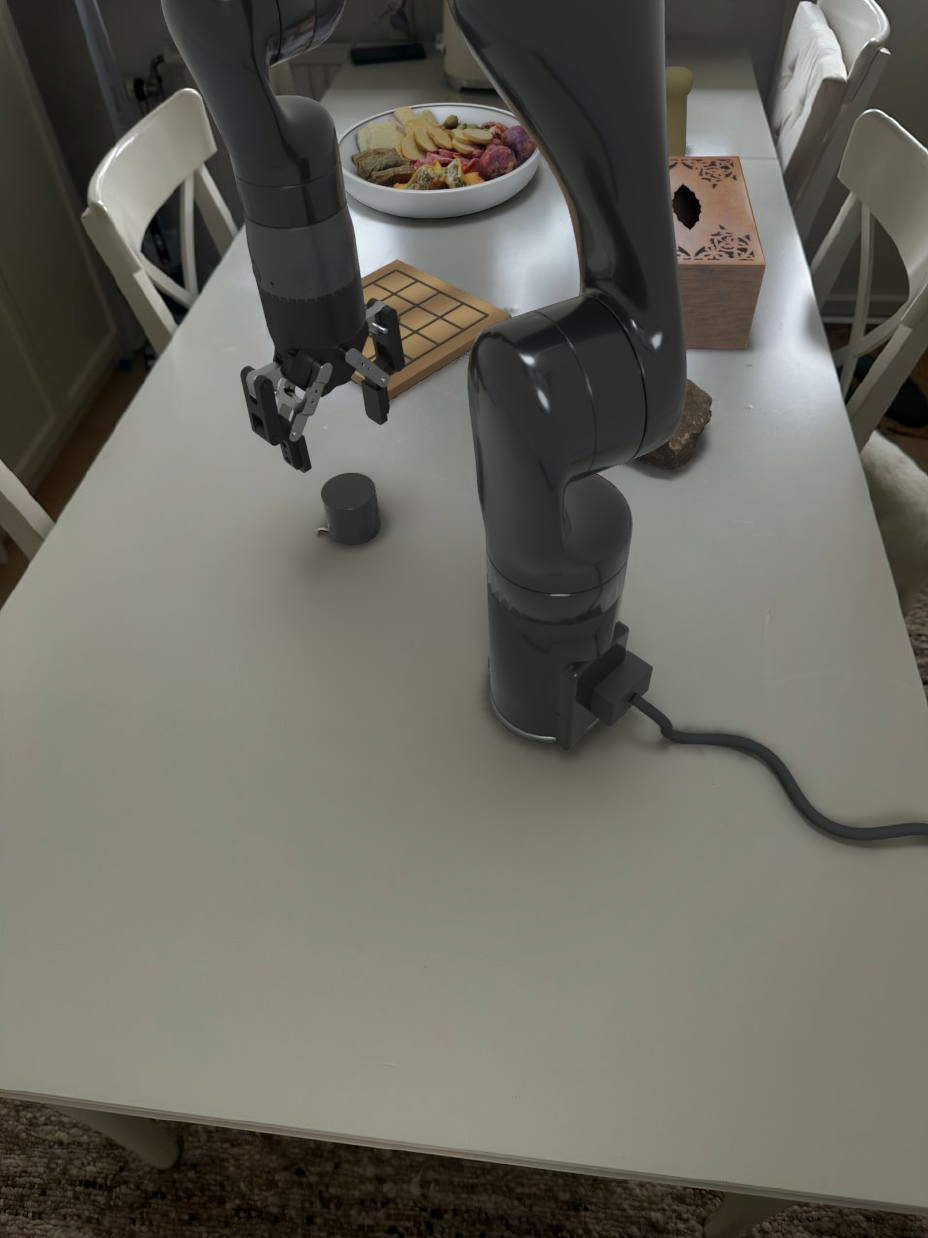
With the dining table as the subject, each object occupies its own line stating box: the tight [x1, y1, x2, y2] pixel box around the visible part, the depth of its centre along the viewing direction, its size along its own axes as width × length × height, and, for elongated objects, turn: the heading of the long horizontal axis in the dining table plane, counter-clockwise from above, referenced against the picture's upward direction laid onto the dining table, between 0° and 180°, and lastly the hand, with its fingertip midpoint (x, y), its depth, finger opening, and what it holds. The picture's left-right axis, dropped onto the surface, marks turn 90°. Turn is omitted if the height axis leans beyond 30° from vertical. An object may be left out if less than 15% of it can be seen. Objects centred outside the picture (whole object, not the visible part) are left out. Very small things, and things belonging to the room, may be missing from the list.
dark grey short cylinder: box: [320, 472, 382, 546], centre depth 80 cm, size 5×5×4 cm
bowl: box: [337, 102, 542, 219], centre depth 124 cm, size 30×30×8 cm
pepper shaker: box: [666, 65, 694, 156], centre depth 125 cm, size 6×6×11 cm
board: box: [351, 258, 513, 401], centre depth 102 cm, size 20×20×1 cm
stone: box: [636, 378, 713, 470], centre depth 86 cm, size 10×14×6 cm
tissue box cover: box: [669, 155, 767, 350], centre depth 102 cm, size 26×14×10 cm, turn 175°
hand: (340, 442), depth 75 cm, fingers open, 8 cm apart
